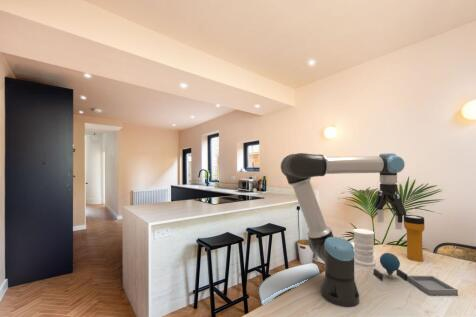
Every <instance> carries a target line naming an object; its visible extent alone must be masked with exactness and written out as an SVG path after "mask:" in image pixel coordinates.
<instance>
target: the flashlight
mask: <svg viewBox="0 0 476 317" xmlns="http://www.w3.org/2000/svg"><path fill="white" fill-rule="evenodd" d="M403 228H404V229H405V230H406V257H407V259H409V260H411V261H416V262H423V260H424V258H423V256H424V255H423V254H424V253H423V251H424V249H423V232H424V231H425V217H424V216H419V215H413V214H406V215H403Z"/></svg>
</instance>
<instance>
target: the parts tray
mask: <svg viewBox="0 0 476 317" xmlns="http://www.w3.org/2000/svg"><path fill="white" fill-rule="evenodd" d="M407 283H409V284H411V285H412V286H413V287H415V288H417V289H418V290H420V291H421V292H423V293H424V294H426V295H427V296H429V297H431V296H432V297H434V296H435V297H436V296H437V297H438V296H440V297H441V296H442V297H443V296H444V297H451V296H452V297H453V296H454V297H457V296H459V290H458V289H457V288H455V287H454V286H452V285H450V284H448V283H446V282H444V281H443V280H441V279H439V278H437V277H435V276H433V275H407Z"/></svg>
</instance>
